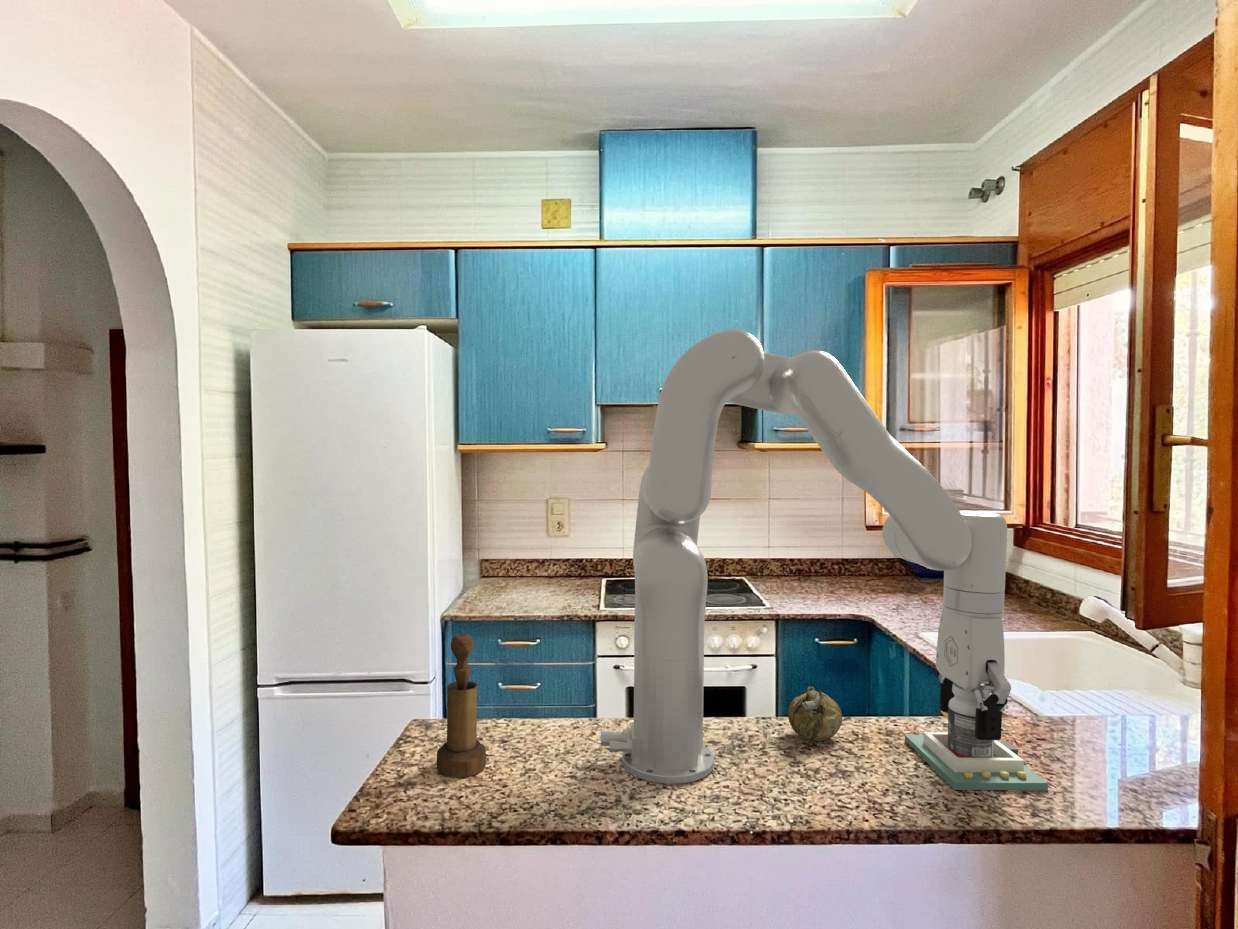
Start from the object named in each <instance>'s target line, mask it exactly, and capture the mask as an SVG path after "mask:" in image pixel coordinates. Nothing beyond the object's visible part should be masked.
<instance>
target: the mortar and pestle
mask: <svg viewBox="0 0 1238 929" xmlns="http://www.w3.org/2000/svg"><path fill="white" fill-rule="evenodd" d="M450 648H451V649H450V650H451V651H452V653H453V655H454V658H455V659H456V665H455V667H453V674H454V677H455V680H456V681H453V682H450V683H449V684H447V686H446V687H447V688H446V690H447V692H446V694H447V698H446V699H447V700H446V701H447V703H446V704H447V707H446V708H447V711H446V712H447V714H446V717H447V718H446V722H447V723H446V742H445V743H443V744H442V745H441V746H440V747H439V748H438V750H437V752H436V770H437V771H436V772H438V773H439V774H441V775H442V776H445V777H450V778H467V777H471V776H474V775H477V774H480V773H481V772H483V771H484V770H485V768H486V766H487V759H486V758H487V750H486V749H487V748H486V746H485V745H484V744H483V743H481V742H480V741H479V740H478V738H477V731H478V730H477V728H478V727H477V722H478V720H477V716H478V713H477V712H478V683H477V682H475V681H471V680H469V679H470V675H471V672H472V671H471V670H472V666H470V665H469V662H468V661H469V660H468V659H469V657H470V655H471V653H472V651H473V650H474V649H473V648H474V639H473V638H472V636H471V635H470V634H468V633H457V634H455V635H454V636H453V637H452V639H451V641H450Z"/></svg>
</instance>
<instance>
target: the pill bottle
mask: <svg viewBox="0 0 1238 929" xmlns="http://www.w3.org/2000/svg"><path fill="white" fill-rule="evenodd" d="M981 685H984V684H981ZM952 692H953V693H954V697H953V698H952V699H951V700H950V701H949V705H948V712H947V732H948V749H949V750H950V751H951V752H952V753H953V754H954V755H956V756H957V757H958V758H994V740H978V739H977V738H976V737H975V719H976V708H980V707H979V704H978V701H977V698H976V695H975V692H974V689H973V690H972V691H967V690H965V689H963V688H961V687H960V686H958V685H957V684H955V683H953V686H952ZM984 695H985V698H986V699H987V698H988V697H989V696H990V695H991V693H984Z"/></svg>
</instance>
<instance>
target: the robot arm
mask: <svg viewBox="0 0 1238 929" xmlns="http://www.w3.org/2000/svg"><path fill="white" fill-rule="evenodd" d="M664 380H665V381H664V382H663V385H662V388H661V392H660V394H659V398H658V403H657V407H656V408H657V409H656V413H655V414H656V415H655V421H654V427H653V434H652V441H651V450H650V457H649V464H648V466H647V467H646V468H645V469H644V472H643V473H642V477H641V480H640V484H639V485H640V486H639V491H638V501H637V510H636V521H635V530H634V531H635V532H634V539H633V550H632V552H633V553H632V563H633V570H634V594H635V595H634V629H633V630H634V632H633V633H634V634H633V638H634V639H633V645H634V646H633V649H634V651H633V652H634V656H633V658H634V661H633V662H634V663H633V665H634V666H633V667H634V668H633V669H634V670H633V722H630V729H623V732H621V731H617V732H614V731H611V730H610V731H607V730H606V731H600V747H609V753H619V752H622V753H621V755H622V756H621V763H622V766H623V767H624V769H625V770H626V771H627V772H628V774H631V775H633V776H634V777H636V778H639V779H641V780H643V781H644V780H645V781H647V782H652V783H655V784H656V783H657V784H666V785H678V784H679V785H680V784H687V783H691V782H696V781H699V780H702V779H703V778H705V777H708V775H709V774H711V773H712V771H713V769H714V767H715V757H714V754H713V752H712V751H711V750H710V749H709V748H708V747H707V746H705V745H703V744H704V691H705V690H704V684H705V683H704V681H705V680H704V677H705V676H704V675H705V674H704V672H705V671H704V670H705V651H704V650H705V620H706V619H705V618H706V616H705V615H706V606H707V605H706V604H707V594H708V569H707V563H706V560H705V558H704V555H703V552H702V551H701V549H700V547H698V539H699V528H700V522H701V521H700V520H701V516H702V515H703V514H704V513H705V511H706V510H707V507H708V506H709V504H710V500H711V497H712V482H713V480H712V479H713V466H714V454H715V446H716V439H717V433H718V426H719V420H720V416H721V413H722V411H723V408H724V407H725V405H726V404H727V403H729V404H734V405H738V406H742V407H743V406H744V407H748V408H751V409H757V410H761V411H766V412H772V413H778V414H783V415H791V416H797V417H798V418H799V420H800V421H801V423H802V424H803V425H804V427H805V428H806V430H807V431H808V432H809V434H810V435H811V436H812V438H813V440H814V441H815V443H816V444H817V446H819V448H820V450H821V451H822V453H823V454H824V455H825V457H826V458H827V460H828V461H829V463H830V464H831V465H832V467H833V468H834V469H835V470H836V472H838V473H839V474H840V475H841V476H842V477H843V478H845V479H846V480H847V481H848V482H850V483H852V484H854V485H855V486H856V487H857V488H860V489H861V490H862V491H864V492H865V493H867V494H868V495H869V496H871V498H873V499H874V500H875V501H876V503H878V504H879V505H880V506H881V507H882V508H883V509H884V510H885V511H886V512H887V514H888V515H889V516H888V517H887V518H886V520H885V521H884V523H883V526H882V532H881V534H882V539H883V540H882V541H883V542H884V544H885V546H886V548H887V549H888V550H889V551H890V552H891V553H892V554H894V555H895V556H896V557H899V558H900V559H903V560H905V561H907V562H911V563H913V564H916V565H917V564H918V565H919V566H923V567H924V568H928V569H930V570H934V571H943V595H942V598H943V599H942V609H941V613H940V614H941V615H940V618H939V624H938V633H937V641H936V653H935V654H936V655H935V657H936V658H935V668H936V670H937V671H938V673H939V675H938V680H939V682H940V684H939V710H940V711H941V712H942V713H948V705H949V701H950V700H951V699H952V698H953V697H954V693H953V692H952V686H953V683H955V684H957V685H958V686H960V687H961V688H963V689H965V690H967V691H972V690H973V689H974V692H975V695H976V698H977V701H978V704H979V707H980V708H976V719H975V737H976V738H977V739H978V740H997V741H1000V740H1001V739H1002V726H1003V725H1002V724H1003V723H1002V722H1003V712H1005V710H1006V705H1007V704H1008V702H1009V699H1008V698H1009V695H1010V693H1011V690H1012V685H1011V684H1010V682H1009V680H1008V679H1007V677H1006V676H1005V670H1006V669H1005V668H1006V666H1005V665H1006V664H1005V663H1006V662H1005V661H1006V660H1005V659H1006V658H1005V656H1006V655H1005V634H1004V625H1003V624H1004V623H1003V617H1005V598H1006V597H1005V593H1006V570H1007V568H1006V566H1007V548H1008V547H1007V541H1008V523H1007V520H1006V518H1005V517H1004V516H1002V515H1001V514H998V513H995V512H991V511H990V512H989V511H976V510H975V511H974V510H959V509H958V507H957V505H956V504H955V503H954V501H953V500H952V499H951V497H950V496H949V494H948V492H947V491H946V490H945V489H944V487H943V486H942V485H941V484H940V483H939V481H938V480H937V479H936V478H935V477H934V476H933V474H931V472H929V470H928V469H927V468H926V467H925V466H923V464H922V463H920V462H919V461H918V459H916V458H915V457H914V456H913V455H912V454H911V453H910V452H909V451H908V450H907V449H906V448H905V447H904V446H903V445H902V444H900V443H899V442H898V441H897V440H896V439H895V438H894V437H893V436H892V435H891V434H890V433H889V431H888V430H887V428H886V427H885V426H884V424H883V422H882V421H881V420H880V418H879V417H878V416H877V414H876V412H874V410H873V408H872V407H871V406H870V405H869V403H868V401H867V400H866V398H865V397H864V396H863V394H862V393H861V392H860V390H859V389H858V387H857V386H856V385H855V383H854V382H853V380H852V378H851V377H850V376H849V374H848V372H846V369H844V367H843V366H842V365H841V362H839V361H838V360H837V359H836V358H835V357H834V356H833V355H831V354H830V353H828V352H826V351H821V350H809V351H804V352H802V353H799V354H796V355H794V356H791V357H790V356H785V355H784V356H783V355H777V354H772V353H768V352H764V349H763V346H762V344H761V343H760V341H759V340H758V339H757V338H756V337H755V335H753V334H751V333H750V332H748V331H745V330H742V329H733V328H732V329H731V328H730V329H726V330H722V331H718V332H716V333H714V334H711V335H708V336H707V337H704V338H703V339H701V340H700V341H698V342H696V343H694V345H692V346H690V347H689V348H688V349H687V350H686V351H685V352H684V353H682V355H681V356H680V357H679V358H678V359H677V361H676V362H675V364H674V365H673V366H672V368H671V369H670V370H669V373H668V374H667V376H666V378H665V379H664ZM981 684H984V685H981ZM984 693H990V696H989V697H988V698H987V699H986V698H985V695H984Z"/></svg>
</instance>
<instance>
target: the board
mask: <svg viewBox="0 0 1238 929" xmlns="http://www.w3.org/2000/svg"><path fill="white" fill-rule="evenodd" d="M904 743H906V744H907V743H908V744H909V745H910V746H911V747H912V748H913V749H914V750H915V751H916V752H917V753H918V754H919V755H920V756H921V757H922V758H923V759H924V760H925V761H926V762H927V763H928V764H929V765H930V766H929V765H928V764H927V765H928V766H929V767H930V768H931V767H932V768H933V769H932V768H931V769H932V770H933V771H934V770H935V771H936V772H935V773H936V774H938V776H940V778H942V780H944V782H945V783H947V784H948V785H949V787H951V788H952V790H954V791H955V790H1016V791H1017V790H1018V791H1019V790H1020V791H1021V792H1022V791H1024V792H1027V791H1029V792H1031V791H1032V792H1033V791H1034V792H1035V791H1039V792H1041V791H1042V792H1043V791H1044V792H1045V791H1047V792H1048V791H1049V782H1048V781H1046V780H1045V779H1044V778H1042V777H1041V776H1040V775H1038V774H1037V773H1035V772H1034V771H1033V770H1032V769H1031V768H1029V767H1028V766H1027V765H1025V760H1024V759H1023V758H1022V757H1021V756H1019V749H1018V748H1017V747H1016V746H1014V745H1013V744H1011V743H1010V742H1008V741H1000V740H994V758H958V757H957V756H956V755H954V754H953V753H952V752H951V751H950V750H949V749H948V731H924V732H923V734H905V735H904ZM908 744H907V745H908ZM909 745H908V746H909ZM910 746H909V747H910ZM911 747H910V748H911ZM912 748H911V749H912ZM913 749H912V750H913ZM914 750H913V751H914ZM915 751H914V752H915ZM916 752H915V753H916ZM917 753H916V754H917ZM918 754H917V755H918ZM919 755H918V756H919ZM920 756H919V757H920ZM921 757H920V758H921ZM922 758H921V759H922ZM923 759H922V760H923ZM924 760H923V761H924ZM925 761H924V762H925ZM926 762H925V763H926ZM1025 790H1026V791H1025ZM1016 791H1015V792H1016Z"/></svg>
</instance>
